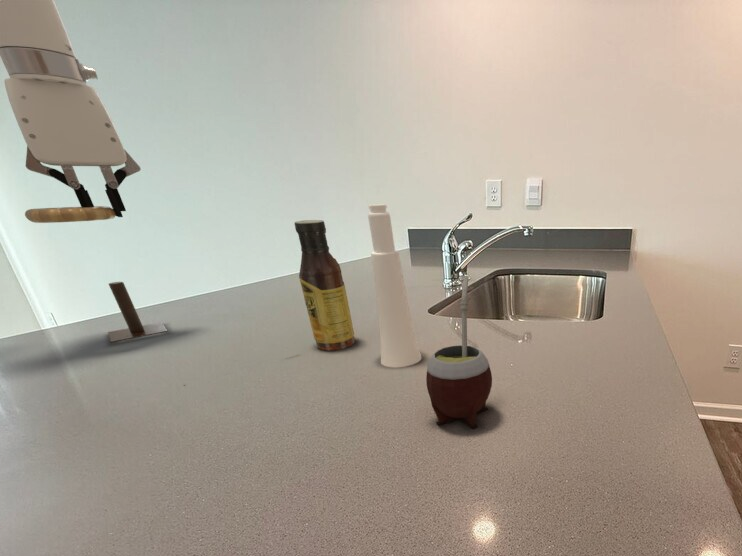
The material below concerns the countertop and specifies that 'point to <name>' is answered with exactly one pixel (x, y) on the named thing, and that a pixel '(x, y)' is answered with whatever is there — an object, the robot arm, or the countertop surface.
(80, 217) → the ring
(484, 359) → the mate gourd
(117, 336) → the peg stand
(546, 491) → the countertop surface
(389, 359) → the cosmetic bottle
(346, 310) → the sauce bottle
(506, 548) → the countertop surface
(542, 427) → the countertop surface
